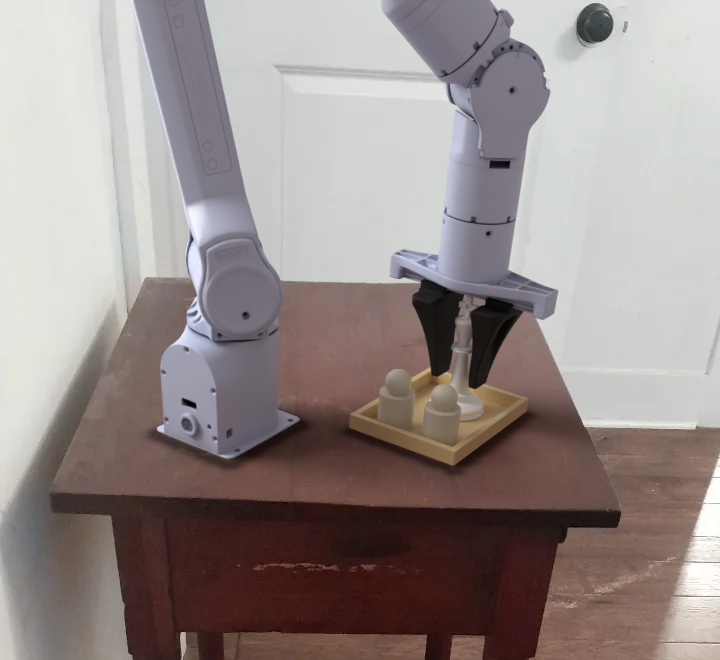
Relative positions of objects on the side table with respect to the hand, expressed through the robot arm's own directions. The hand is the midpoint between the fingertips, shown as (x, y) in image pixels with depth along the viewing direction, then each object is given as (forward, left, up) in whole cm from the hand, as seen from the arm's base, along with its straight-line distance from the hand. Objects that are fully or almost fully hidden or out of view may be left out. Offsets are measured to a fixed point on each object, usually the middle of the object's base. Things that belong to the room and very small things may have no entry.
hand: (458, 378), depth 85 cm
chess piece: (0, 0, -3) cm, 3 cm away
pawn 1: (-6, +2, -3) cm, 7 cm away
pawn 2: (-6, -2, -3) cm, 7 cm away
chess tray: (-2, 0, -3) cm, 4 cm away
